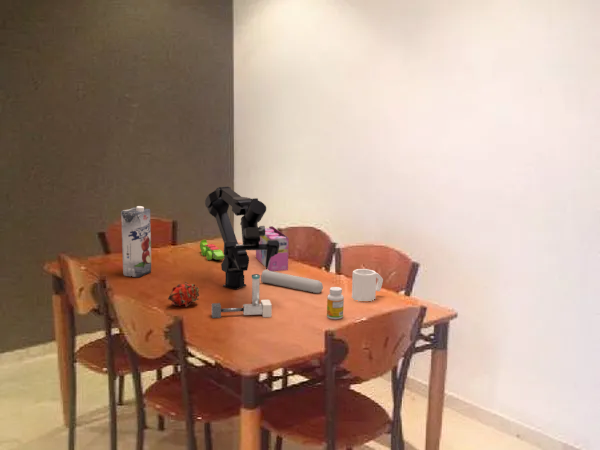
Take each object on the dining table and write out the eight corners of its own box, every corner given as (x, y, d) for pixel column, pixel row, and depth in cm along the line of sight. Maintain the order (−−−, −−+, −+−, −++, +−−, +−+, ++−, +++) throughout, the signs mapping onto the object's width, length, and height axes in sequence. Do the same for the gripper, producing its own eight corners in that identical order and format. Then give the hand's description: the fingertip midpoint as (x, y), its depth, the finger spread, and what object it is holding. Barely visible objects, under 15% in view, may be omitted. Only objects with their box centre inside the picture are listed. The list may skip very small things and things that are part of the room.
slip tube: (243, 315, 244) (244, 276, 241) (243, 312, 246) (243, 274, 244) (268, 314, 245) (268, 276, 242) (267, 311, 248) (267, 273, 245)
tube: (326, 281, 273) (269, 270, 285) (319, 280, 268) (262, 268, 281) (323, 295, 272) (266, 283, 285) (317, 294, 268) (259, 282, 280)
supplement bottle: (325, 314, 248) (326, 286, 246) (341, 314, 248) (342, 286, 246) (327, 319, 243) (328, 291, 241) (344, 319, 243) (345, 290, 241)
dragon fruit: (202, 306, 258) (171, 317, 251) (190, 288, 262) (160, 299, 255) (207, 292, 252) (175, 303, 245) (195, 273, 256) (163, 283, 249)
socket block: (263, 317, 243) (263, 305, 243) (260, 311, 249) (260, 299, 248) (271, 317, 244) (271, 305, 243) (269, 311, 250) (269, 299, 249)
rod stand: (212, 318, 242) (212, 306, 241) (211, 314, 245) (211, 303, 244) (250, 316, 244) (250, 305, 243) (248, 313, 247) (248, 302, 246)
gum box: (254, 257, 321) (254, 226, 318) (272, 256, 323) (272, 225, 320) (269, 271, 298) (270, 238, 296) (288, 270, 301) (289, 237, 298)
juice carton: (119, 276, 287) (117, 207, 282) (135, 269, 297) (133, 203, 291) (139, 278, 284) (137, 209, 278) (154, 272, 294) (153, 204, 288)
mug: (361, 303, 260) (362, 276, 258) (346, 296, 267) (347, 270, 265) (388, 298, 266) (389, 272, 264) (373, 292, 273) (374, 266, 271)
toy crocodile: (227, 262, 311) (227, 248, 310) (212, 263, 309) (212, 249, 307) (212, 251, 329) (212, 238, 328) (197, 253, 326) (197, 239, 325)
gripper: (224, 217, 251) (226, 257, 242) (279, 217, 254) (283, 256, 246) (222, 235, 260) (224, 274, 252) (275, 234, 263) (279, 273, 255)
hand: (253, 269), depth 251 cm, fingers open, 9 cm apart
